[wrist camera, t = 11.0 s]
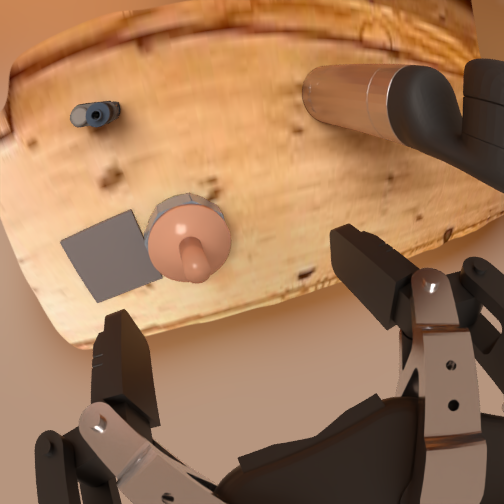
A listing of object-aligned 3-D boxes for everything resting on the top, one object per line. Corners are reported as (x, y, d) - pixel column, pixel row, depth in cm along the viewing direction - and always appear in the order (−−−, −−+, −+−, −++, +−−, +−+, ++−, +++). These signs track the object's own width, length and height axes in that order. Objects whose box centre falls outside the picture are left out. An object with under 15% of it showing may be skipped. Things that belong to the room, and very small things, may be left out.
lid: (216, 191, 36) (231, 212, 30) (237, 260, 42) (253, 290, 36) (135, 222, 34) (133, 250, 28) (166, 287, 40) (171, 321, 34)
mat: (131, 209, 37) (130, 210, 36) (162, 275, 44) (162, 278, 43) (60, 240, 35) (59, 242, 34) (97, 300, 42) (97, 303, 41)
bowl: (210, 182, 39) (216, 191, 36) (229, 247, 45) (236, 260, 42) (135, 210, 37) (134, 222, 34) (163, 272, 43) (165, 287, 40)
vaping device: (122, 119, 31) (108, 128, 21) (83, 123, 29) (54, 135, 19) (122, 100, 29) (109, 99, 20) (83, 104, 28) (54, 107, 18)
